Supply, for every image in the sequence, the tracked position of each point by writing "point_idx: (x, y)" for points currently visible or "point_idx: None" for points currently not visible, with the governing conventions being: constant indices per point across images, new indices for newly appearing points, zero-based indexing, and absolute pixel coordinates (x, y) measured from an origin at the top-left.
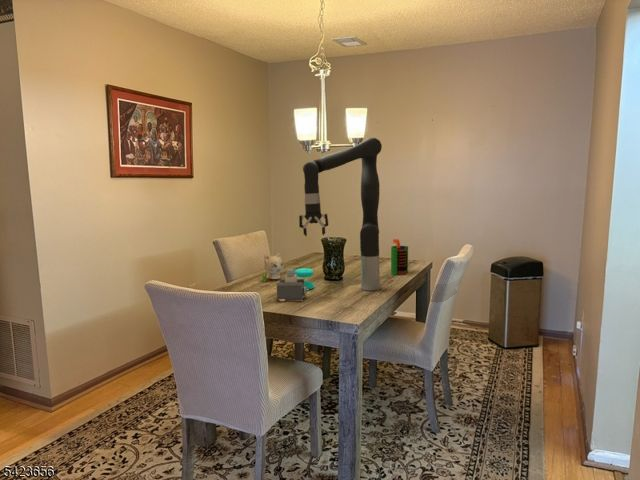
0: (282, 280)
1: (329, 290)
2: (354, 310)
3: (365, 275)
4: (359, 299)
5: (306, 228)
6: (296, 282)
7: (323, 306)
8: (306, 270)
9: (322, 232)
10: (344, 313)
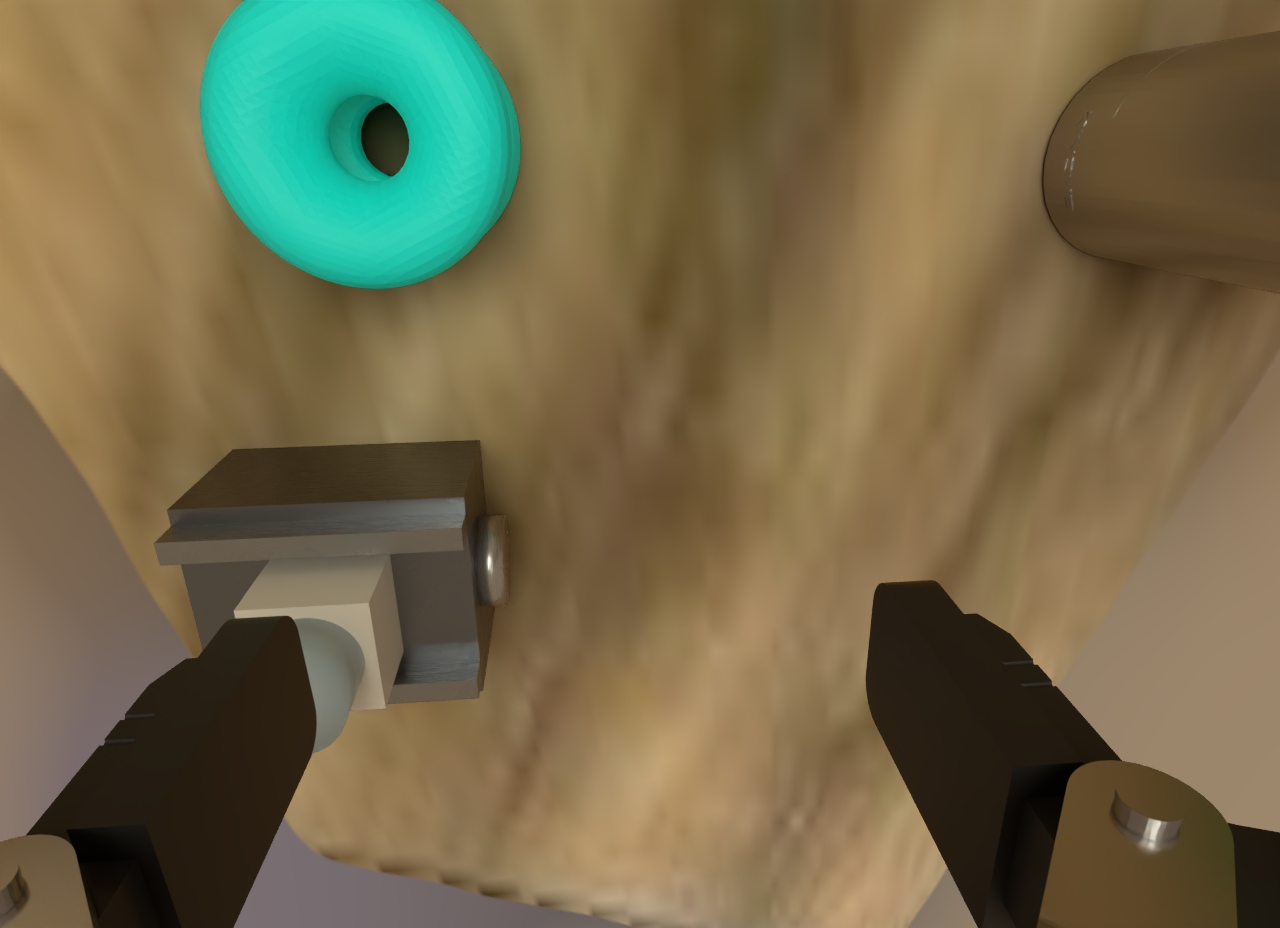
0: (201, 556)
1: (703, 237)
2: (892, 782)
3: (1184, 266)
4: (961, 542)
5: (155, 818)
6: (392, 597)
7: (681, 722)
8: (382, 76)
9: (908, 767)
10: (824, 837)
